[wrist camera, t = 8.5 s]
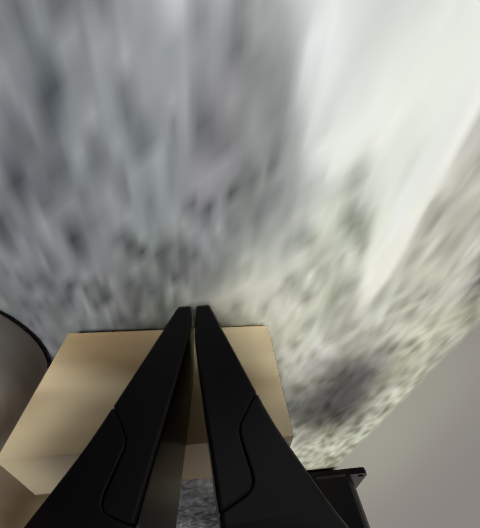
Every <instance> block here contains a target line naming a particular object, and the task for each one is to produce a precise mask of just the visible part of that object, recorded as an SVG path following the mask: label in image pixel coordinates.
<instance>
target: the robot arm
mask: <svg viewBox="0 0 480 528" xmlns="http://www.w3.org/2000/svg"><path fill="white" fill-rule="evenodd" d="M195 348H196V356H197V365H198V373H199V381H200V389H201V397H202V404H203V412H204V419H205V427H206V435H207V442H208V450H209V457H210V465H211V472H212V480H213V488H214V495H215V503H216V510H217V518H218V525H219V528H370V526H369V524H368V521H367V518H366V515H365V512H364V510H363V507H362V505H361V502H360V499H359V496H358V493H357V490H356V488H357V486H358V485H359V484H360V482H361V481H362V480H363V479H364V478H365V476H366V475H367V474H366V471H365V469H364V468H363V467H359V468H350V469H341V470H330V471H321V472H312V473H308V472H307V471H306V469H305V468H304V466H303V465H302V464H301V462H300V461H299V459H298V458H297V456H296V455H295V454H294V452H293V451H292V449H291V448H290V447H289V445H288V444H287V442H286V441H285V439H284V438H283V436H282V434H281V433H280V431H279V430H278V428H277V427H276V425H275V424H274V422H273V420H272V419H271V417H270V415H269V413H268V412H267V410H266V408H265V407H264V405H263V403H262V401H261V399H260V397H259V396H258V395H257V394H256V390H255V388H254V387H253V385H252V383H251V381H250V379H249V377H248V376H247V374H246V372H245V370H244V368H243V366H242V365H241V363H240V361H239V359H238V357H237V355H236V353H235V352H234V350H233V348H232V346H231V344H230V342H229V341H228V339H227V337H226V335H225V333H224V331H223V330H222V328H221V326H220V324H219V322H218V320H217V318H216V317H215V315H214V313H213V311H212V309H211V307H210V306H209V305H201V306H197V307H196V318H195ZM193 381H194V320H193V311H192V307H191V306H185V307H179V308H178V309H177V310H176V312H175V313H174V315H173V316H172V318H171V319H170V321H169V322H168V324H167V325H166V327H165V328H164V330H163V331H162V333H161V334H160V336H159V338H158V339H157V341H156V342H155V344H154V345H153V347H152V348H151V350H150V351H149V353H148V354H147V356H146V357H145V359H144V360H143V362H142V364H141V365H140V367H139V368H138V370H137V371H136V373H135V374H134V376H133V377H132V379H131V380H130V382H129V383H128V385H127V386H126V388H125V390H124V391H123V393H122V394H121V396H120V397H119V399H118V400H117V402H116V403H115V405H114V408H113V409H111V411H110V412H109V414H108V415H107V417H106V418H105V420H104V421H103V423H102V424H101V426H100V427H99V429H98V430H97V432H96V433H95V435H94V436H93V438H92V439H91V440H90V442H89V443H88V445H87V446H86V448H85V449H84V450H83V452H82V453H81V454H80V456H79V457H78V458H77V460H76V461H75V462H74V464H73V465H72V466H71V468H70V469H69V470H68V471H67V473H66V474H65V475H64V477H63V478H62V479H61V480H60V482H59V483H58V484H57V486H56V487H55V488H54V489H53V491H52V492H51V493H50V495H49V496H48V497H47V498H46V500H45V501H44V502H43V503H42V505H41V506H40V507H39V509H38V510H37V511H36V512H35V514H34V515H33V516H32V518H31V519H30V520H29V521H28V523H27V524H26V525H25V526H24V528H176V522H177V514H178V505H179V497H180V489H181V481H182V472H183V464H184V456H185V448H186V439H187V431H188V423H189V415H190V406H191V398H192V390H193Z"/></svg>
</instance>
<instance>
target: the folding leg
mask: <svg viewBox="0 0 480 528" xmlns="http://www.w3.org/2000/svg"><path fill="white" fill-rule="evenodd" d="M222 330H223V331H224V333H225V335H226V337H227V339H228V341H229V342H230V344H231V346H232V348H233V350H234V352H235V353H236V355H237V357H238V359H239V361H240V363H241V365H242V366H243V368H244V370H245V372H246V374H247V376H248V377H249V379H250V381H251V383H252V385H253V387H254V388H255V390H256V394H257V395H258V396H259V397H260V399H261V401H262V403H263V405H264V407H265V408H266V410H267V412H268V413H269V415H270V417H271V419H272V420H273V422H274V424H275V425H276V427H277V428H278V430H279V431H280V433H281V434H282V436H283V438H284V439H285V441H286V442H287V444H288V445H289V447H290V445H291V442H292V439H293V436H294V435H293V431H292V427H291V423H290V418H289V414H288V410H287V406H286V402H285V397H284V393H283V389H282V385H281V380H280V376H279V372H278V368H277V364H276V359H275V355H274V351H273V347H272V342H271V338H270V334H269V330H268V326H250V327H224V328H222ZM162 331H163V330H148V331H122V332H97V333H71V334H68V335H67V337H66V339H65V341H64V342H63V344H62V346H61V348H60V349H59V351H58V353H57V355H56V356H55V358H54V360H53V361H52V363H51V365H50V367H49V368H48V370H47V372H46V374H45V375H44V377H43V379H42V381H41V382H40V384H39V386H38V388H37V389H36V391H35V393H34V395H33V396H32V398H31V400H30V402H29V403H28V405H27V407H26V409H25V410H24V412H23V414H22V416H21V417H20V419H19V421H18V423H17V424H16V426H15V428H14V430H13V431H12V433H11V435H10V436H9V438H8V440H7V442H6V443H5V445H4V447H3V449H2V450H1V452H0V465H1V466H2V467H3V468H5V469H6V470H7V471H8V472H9V473H10V474H12V475H13V476H14V477H15V478H16V479H17V480H19V481H20V482H21V483H22V484H23V485H24V486H26V487H27V488H28V489H29V490H30V491H31V492H33V493H34V494H35V495H40V494H50V493H51V492H52V491H53V489H54V488H55V487H56V486H57V484H58V483H59V482H60V480H61V479H62V478H63V477H64V475H65V474H66V473H67V471H68V470H69V469H70V468H71V466H72V465H73V464H74V462H75V461H76V460H77V458H78V457H79V456H80V454H81V453H82V452H83V450H84V449H85V448H86V446H87V445H88V443H89V442H90V440H91V439H92V438H93V436H94V435H95V433H96V432H97V430H98V429H99V427H100V426H101V424H102V423H103V421H104V420H105V418H106V417H107V415H108V414H109V412H110V411H111V409H113V408H114V405H115V403H116V402H117V400H118V399H119V397H120V396H121V394H122V393H123V391H124V390H125V388H126V386H127V385H128V383H129V382H130V380H131V379H132V377H133V376H134V374H135V373H136V371H137V370H138V368H139V367H140V365H141V364H142V362H143V360H144V359H145V357H146V356H147V354H148V353H149V351H150V350H151V348H152V347H153V345H154V344H155V342H156V341H157V339H158V338H159V336H160V334H161V333H162ZM206 478H212V472H211V465H210V457H209V450H208V442H207V435H206V427H205V419H204V412H203V404H202V397H201V389H200V381H199V373H198V365H197V356H196V348H195V329H194V381H193V390H192V398H191V406H190V415H189V423H188V431H187V439H186V448H185V456H184V464H183V472H182V481H185V480H195V479H206Z"/></svg>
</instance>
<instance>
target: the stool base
mask: <svg viewBox="0 0 480 528" xmlns="http://www.w3.org/2000/svg"><path fill="white" fill-rule="evenodd" d="M46 372H47V361H46V358H45V355H44V353H43V351H42V349H41V348H40V347H39V345H38V344H37V343H36V341H35V340H34V339H33V338H32V337H31V336H30V335H29V334H28V333H27V332H25V331H24V330H23V329H22V328H21V327H19V326H18V325H16V324H15V323H13V322H12V321H11V320H9V319H8V318H6V317H4V316H2V315H1V314H0V452H1V450H2V449H3V447H4V445H5V443H6V442H7V440H8V438H9V436H10V435H11V433H12V431H13V430H14V428H15V426H16V424H17V423H18V421H19V419H20V417H21V416H22V414H23V412H24V410H25V409H26V407H27V405H28V403H29V402H30V400H31V398H32V396H33V395H34V393H35V391H36V389H37V388H38V386H39V384H40V382H41V381H42V379H43V377H44V375H45V374H46ZM49 495H50V494H40V495H35V494H34V493H33V492H31V491H30V490H29V489H28V488H27V487H26V486H24V485H23V484H22V483H21V482H20V481H19V480H17V479H16V478H15V477H14V476H13V475H12V474H10V473H9V472H8V471H7V470H6V469H5V468H3V467H2V466H1V465H0V528H24V526H25V525H26V524H27V523H28V521H29V520H30V519H31V518H32V516H33V515H34V514H35V512H36V511H37V510H38V509H39V507H40V506H41V505H42V503H43V502H44V501H45V500H46V498H47V497H48V496H49Z"/></svg>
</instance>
